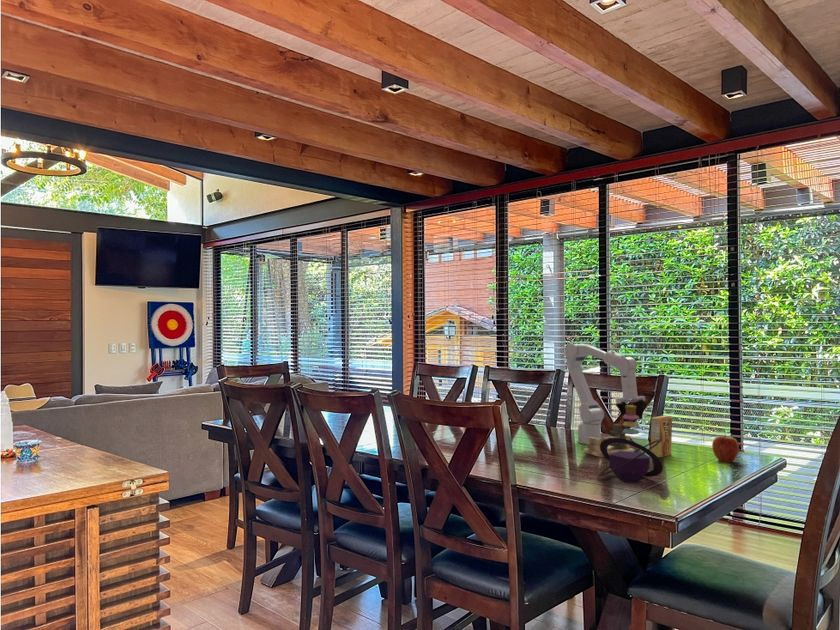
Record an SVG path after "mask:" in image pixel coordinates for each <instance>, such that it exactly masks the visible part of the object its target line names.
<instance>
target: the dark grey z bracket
mask: <svg viewBox="0 0 840 630" xmlns="http://www.w3.org/2000/svg"><path fill="white" fill-rule="evenodd" d="M622 431H623V425H622V424H618V423H613V424H612V430H610V431H609V436H617V435H619V438H620V439H625V435H626V434H625V433H623V432H622ZM609 446H613V447H618V448H623V447H624V448H625V444H624V443H619V444H617V443H615V444H610V445H609Z"/></svg>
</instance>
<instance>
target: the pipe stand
mask: <svg viewBox="0 0 840 630" xmlns="http://www.w3.org/2000/svg"><path fill="white" fill-rule="evenodd" d="M608 438H619V435H616V436H610V435H609V436H601V437H600V438H594V437H588V445H587V448H583V453H585V454H588V455H593V456H596V457H599V458H605V457H604V456H603V454H602V452H601V450H600V444H601V442H602V441H603V440H605V439H608ZM625 439H626V440H629V441H631V436H630V435H629V434H625ZM613 444H615V443H613ZM616 444H619V443H616ZM618 451H626V452H634V451H636V450H635V448H631V445H628V444H625V448H618V447H613V446H610V445H609V446H608V447H607V452H608V454H609V456H610V454H613V453H615V452H618Z"/></svg>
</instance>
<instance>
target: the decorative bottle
mask: <svg viewBox="0 0 840 630" xmlns="http://www.w3.org/2000/svg"><path fill="white" fill-rule="evenodd" d="M625 409H626V414H625V415H624V416H623V417H622V419H623V418H624V419H629V421H623V423H622V424H621V425H622V427H623V426H624V427H629V428H624V429H622V433H625V435H638V434H640V431H639V430H638V429H635V428H636V427H639V426H640V424H639V423H638V422H636V420H640V419H639V416H637V415H636V406H634V405H633V404H632V405H631V404H630V405H626V406H625ZM631 420H635V421H631ZM661 440H662V439H659V440H656V441H654V442H651V441H650V442H649V443H648V444H645V445H641V444H639V443H637V442H635V441H632V440H630V441H629V440H626V439H620V438H608V439H605V440H603V441H602V442H601V444H600V450H601V452H602V454H603V456H604V457H603V458H605V459H606V460H607V461H608V462H609V463H608V467H606V468H605V469H604V470H603V471H601V472H600V473H599V474H598V477H603V476H605V475H609V474H610V473H613V474H614V475H615V476H616V478H617V479H618V480H620V481H621V482H623V483H628V484H639V483H640V481H642V479H644V478H645V477H647V478H648V477H649V478H651V477H653V478H654V477H658V475H661V474H662V472H663V470H664V467H663V463H662V461H661V459H660V458H659V457H657V456H656V455H655V454H654V453H652V452H651V449H652V448H653V447H655V446H656V445H657V444H659V443H660V442H661ZM655 442H657V443H656V444H655V445H653V446H652V447H651V444H653V443H655ZM613 443H616V444H617V443H624V444H628V445H630V447H631V446H632V447H633V448H636V450H635V451H634V452H626V451H618V452H615V453H613V454H610V456H609V454H608V452H607V447H608V446H610V444H613ZM648 446H650V447H649V448H647V447H648ZM623 448H624V447H623ZM639 451H642V452H639ZM651 460H652V462H653V464H654V468H653V469H652V470H651V471H649V470H650V466H651V465H650V464H651ZM609 469H610V470H609ZM608 470H609V471H608Z"/></svg>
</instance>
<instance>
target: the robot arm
mask: <svg viewBox="0 0 840 630" xmlns="http://www.w3.org/2000/svg"><path fill="white" fill-rule="evenodd" d="M564 355H565V358H566V367H567V369H568V370H567V371H568V374H569V375H570V377H571V381H572V383H573V385H574V389H575V390H576V393H577V396H578V398H579V402H580V405H579V407H578V409H579V418H580V419H581V421H582V422H580V423H579V424H578V426H577V440H576V443H579V444H583V445H587V446H588V437H594V438H600V437H602V436H601V433H602V432H601V431H602V430H601V426H602V421H603V420H604V418H605V411H604V409H602V407H601V406H600V404H599V402H597V400H595V399H594V398H593V395H592V392H591V389H590V387H589V385H588V383H587V380H586V377H585V375H584V372H583V370H582V364H583V363H584V361H585V360H586V359H587V358H588V356H592V357H594V358H598V359H600V360H603V363H604V364H606V365H608V366H611V367H613V368H616V369H617V370H618V372H619V375H620V380H621V381H620V382H621V389H622V397H619V398H615V406H616V407H617V409H618V410H619V412H620V415H621V418H622V420H623V422H625V421H626V422H630V419H624V418H623V416H624V415H625V414H626V409H625V406H626V405H631V404H630V403H632V405H633V406H636V414H635V415H637V416H639V419H638V420H642V419H643V414H644V410H645V407H646V404H647V401H646V396H644V395H640V396H639V395H638V387H637V378H636V371H635V370H636V369H637V367H638V362H637V360H636V359H635V358H634V357H632V356H627V357H626V355H625V354H620V353H617V352H616V350H608V351H604V350H603V349H600V348H598V347H595V346H593V345H591V344H587V343H569V344H568V345H566V348H565V350H564Z"/></svg>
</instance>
